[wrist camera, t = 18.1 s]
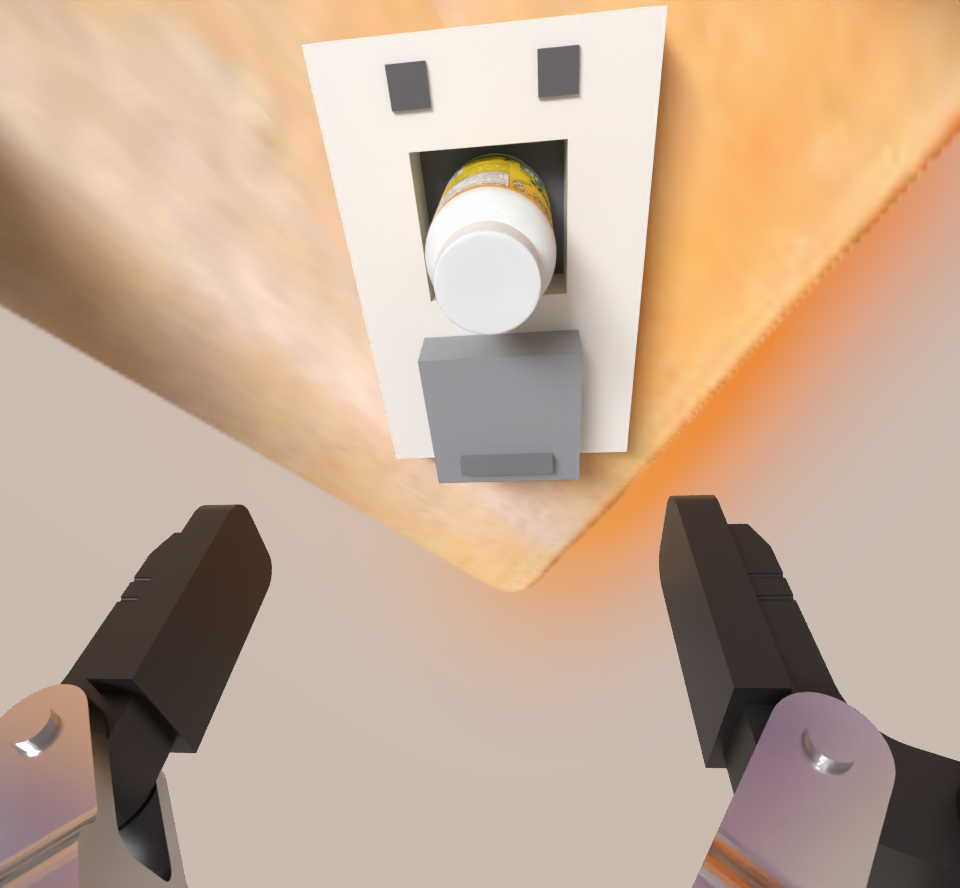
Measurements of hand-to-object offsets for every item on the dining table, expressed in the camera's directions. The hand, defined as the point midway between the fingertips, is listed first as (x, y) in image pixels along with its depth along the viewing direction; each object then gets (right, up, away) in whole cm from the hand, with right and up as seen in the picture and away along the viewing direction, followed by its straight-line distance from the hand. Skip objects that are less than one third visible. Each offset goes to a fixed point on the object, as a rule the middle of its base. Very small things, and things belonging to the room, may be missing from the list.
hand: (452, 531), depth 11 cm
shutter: (+2, +4, +21) cm, 21 cm away
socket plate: (+2, +11, +19) cm, 22 cm away
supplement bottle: (+1, +13, +17) cm, 22 cm away
